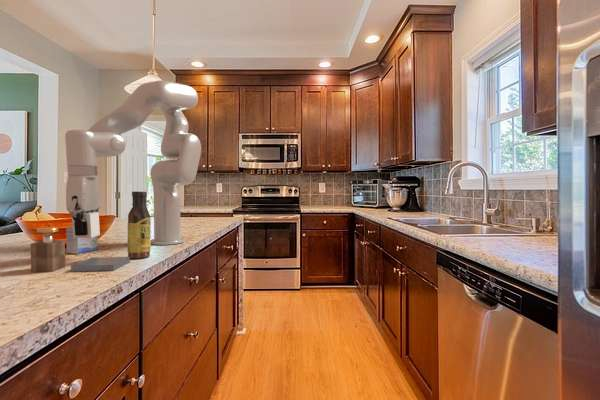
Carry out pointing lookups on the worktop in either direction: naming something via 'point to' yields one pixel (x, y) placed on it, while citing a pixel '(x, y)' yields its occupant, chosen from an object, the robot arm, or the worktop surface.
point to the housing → (89, 225)
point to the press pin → (47, 233)
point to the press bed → (100, 264)
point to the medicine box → (79, 243)
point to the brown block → (47, 256)
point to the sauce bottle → (139, 227)
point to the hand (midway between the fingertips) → (86, 232)
